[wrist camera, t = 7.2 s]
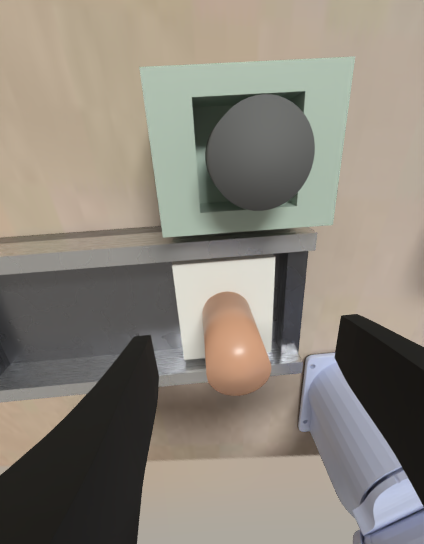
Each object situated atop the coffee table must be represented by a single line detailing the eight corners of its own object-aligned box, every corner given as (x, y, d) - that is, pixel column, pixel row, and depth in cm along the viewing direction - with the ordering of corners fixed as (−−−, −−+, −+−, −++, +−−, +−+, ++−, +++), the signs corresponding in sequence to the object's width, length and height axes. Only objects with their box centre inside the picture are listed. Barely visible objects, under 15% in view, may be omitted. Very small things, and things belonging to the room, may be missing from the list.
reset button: (283, 195, 13) (309, 207, 10) (207, 200, 12) (212, 214, 10) (288, 106, 11) (320, 91, 8) (202, 111, 11) (205, 97, 8)
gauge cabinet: (292, 204, 18) (332, 225, 13) (171, 213, 17) (162, 237, 12) (300, 89, 15) (355, 56, 10) (157, 96, 15) (139, 67, 10)
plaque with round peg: (265, 337, 20) (297, 417, 14) (184, 345, 19) (181, 429, 13) (268, 248, 17) (310, 300, 11) (173, 256, 17) (163, 313, 11)
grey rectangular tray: (283, 336, 22) (301, 373, 18) (11, 361, 21) (-27, 405, 17) (291, 216, 18) (317, 232, 14) (-47, 241, 17) (-112, 265, 13)
